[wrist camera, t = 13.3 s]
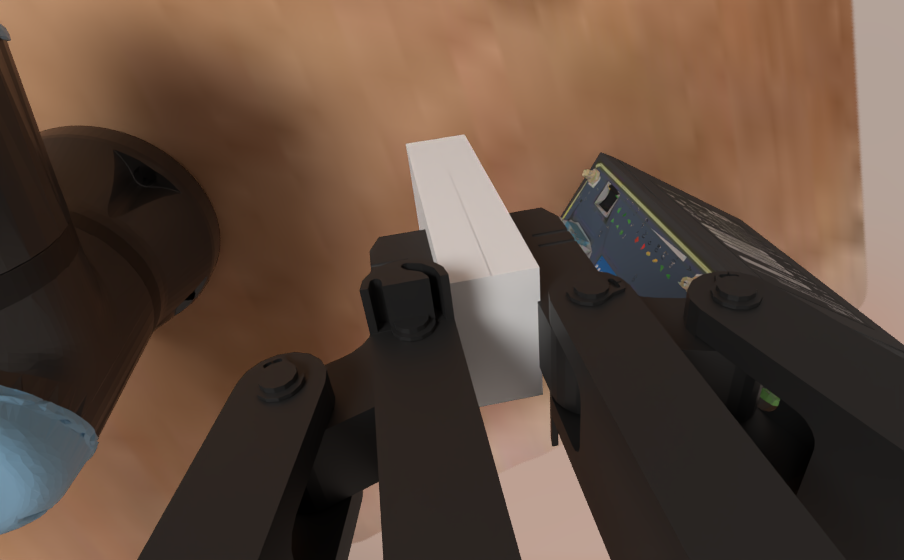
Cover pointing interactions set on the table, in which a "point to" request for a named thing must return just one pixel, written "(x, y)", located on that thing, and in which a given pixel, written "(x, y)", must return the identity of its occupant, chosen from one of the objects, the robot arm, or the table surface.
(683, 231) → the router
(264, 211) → the table surface
